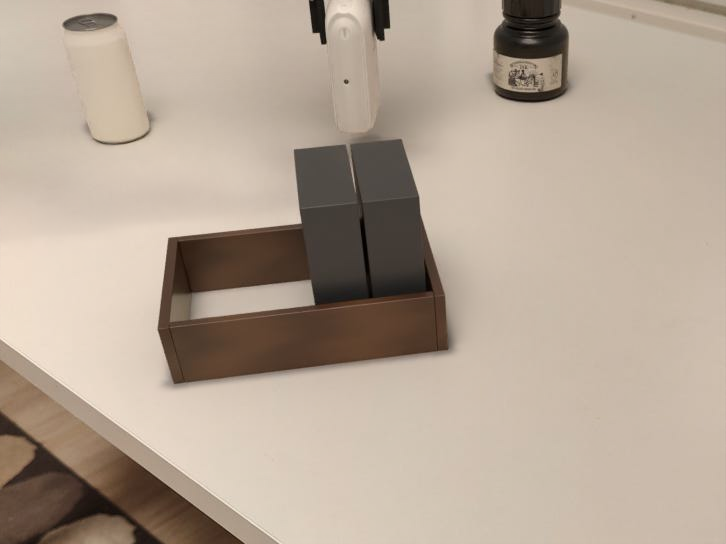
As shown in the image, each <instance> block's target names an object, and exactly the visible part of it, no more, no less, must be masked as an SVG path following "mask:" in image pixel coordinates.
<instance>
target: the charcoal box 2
mask: <svg viewBox="0 0 726 544" xmlns="http://www.w3.org/2000/svg"><path fill="white" fill-rule="evenodd" d="M349 147H350V155H351V165H352V172H353V173H352V175H353V182H354V187H355V192H356V197H357V202H358V210H359V219H360V227H361V236H362V245H363V253H364V262H365V270H366V279H367V287H368V296H369V299H371V298H380V297H388V296H397V295H405V294H414V293H422V292H426V284H425V270H424V256H423V241H422V227H421V217H422V214H421V201H420V194H419V190H418V187H417V184H416V182H415V178H414V174H413V171H412V168H411V165H410V161H409V158H408V155H407V152H406V148H405V145H404V142H403V140H402V138H397V139H386V140H376V141H367V142H355V143H350V144H349Z"/></svg>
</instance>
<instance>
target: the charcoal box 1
mask: <svg viewBox="0 0 726 544" xmlns="http://www.w3.org/2000/svg"><path fill="white" fill-rule="evenodd" d="M293 158H294V169H295V170H294V171H295V179H296V189H297V199H298V200H297V201H298V210H299V214H300V215H299V216H300V222H301V223H302V229H303V235H304V241H305V247H306V253H307V259H308V266H309V272H310V278H311V280H310V282H311V289H312V295H313V301H314V302H313V303H314V305H320V304H329V303H337V302H346V301H354V300H363V299H370V298H369V293H368V287H367V279H366V270H365V262H364V253H363V245H362V236H361V227H360V219H359V210H358V202H357V197H356V191H355V182H354V176H353V173H352V172H353V171H352V168H351V162H350V158H349V153H348V147H347V144H334V145H324V146H314V147H305V148H304V147H303V148H294V149H293ZM301 223H300V224H301Z"/></svg>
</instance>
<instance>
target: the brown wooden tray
mask: <svg viewBox="0 0 726 544" xmlns="http://www.w3.org/2000/svg"><path fill="white" fill-rule="evenodd" d="M421 227H422V241H423V256H424V270H425V284H426V292H422V293H414V294H405V295H397V296H388V297H380V298H371V299H370V298H369V299H363V300H354V301H346V302H337V303H329V304H320V305H315V304H312V305H305V306H303V305H302V306H296V307H286V308H279V309H271V310H261V311H254V312H245V313H244V312H243V313H237V314H227V315H226V314H225V315H219V316H209V317H202V318H194V319H190V316H191V305H192V294H197V293H198V294H199V293H205V292H206V293H207V292H215V291H222V290H223V291H224V290H231V289H233V290H234V289H241V288H249V287H258V286H259V287H260V286H267V285H268V286H269V285H277V284H285V283H292V282H293V283H294V282H302V281H303V282H304V281H311V278H310V272H309V266H308V259H307V253H306V247H305V241H304V235H303V229H302V223H294V224H293V223H292V224H283V225H274V226H265V227H256V228H247V229H238V230H228V231H217V232H209V233H201V234H199V233H198V234H190V235H180V236H171V237H167V245H166V253H165V263H164V271H163V279H162V288H161V295H160V296H161V297H160V303H159V304H160V305H159V311H158V312H159V313H158V321H157V329H156V331H157V332H158V337H159V339H160V342H161V343H160V344H161V345H162V346H161V347H162V350H163V353H164V356H165V359H166V363H167V366H168V370H169V373H170V377H171V380H172V383H173V385H178V384H185V383H186V384H187V383H193V382H194V383H195V382H203V381H210V380H219V379H227V378H234V377H236V378H237V377H243V376H250V375H259V374H267V373H274V372H282V371H283V372H285V371H290V370H300V369H305V368H306V369H309V368H315V367H322V366H324V367H325V366H330V365H339V364H346V363H355V362H363V361H370V360H379V359H380V360H381V359H386V358H387V359H388V358H396V357H402V356H403V357H404V356H410V355H412V356H413V355H419V354H426V353H436V352H442V351H443V352H444V351H448V350H449V340H448V338H449V337H448V323H447V321H448V320H447V304H446V294H445V291H444V287H443V284H442V280H441V277H440V274H439V270H438V267H437V264H436V260H435V257H434V254H433V250H432V248H431V244H430V240H429V237H428V234H427V230H426V228H425V223H424V220H423V217H422V216H421Z"/></svg>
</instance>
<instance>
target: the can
mask: <svg viewBox="0 0 726 544" xmlns="http://www.w3.org/2000/svg"><path fill="white" fill-rule="evenodd" d="M118 20H119V19H118V16H117V15H115V14H113V13H109V12H90V13H83V14H79V15H74V16H71V17H69V18H67V19H65V20H64V21H63V22H62V23H61V24H62V28H63V37H62V42H63V43H62V44H63V47H64V50H65V54H66V56H67V60H68V64H69V68H70V71H71V73H72V77H73V80H74V83H75V87H76V90H77V92H78V96H79V99H80V103H81V106H82V110H83V113H84V116H85V119H86V122H87V126H88V129H89V131H90V135H91V137H92V138H93V139H95V140H96V141H97V142H99V143H101V144H107V145H120V144H127V143H132V142H134V141H138V140H139V139H141V138H143V137H145V136H146V135H147V134H148V132H149V130H150V127H151V126H150V120H149V116H148V113H147V110H146V105H145V101H144V98H143V94H142V90H141V86H140V82H139V78H138V74H137V71H136V66H135V63H134V59H133V55H132V52H131V47H130V44H129V40H128V37H127V34H126V31H125V30H124V28H123V27H122V26H121V24H120V23H119V21H118Z"/></svg>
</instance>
